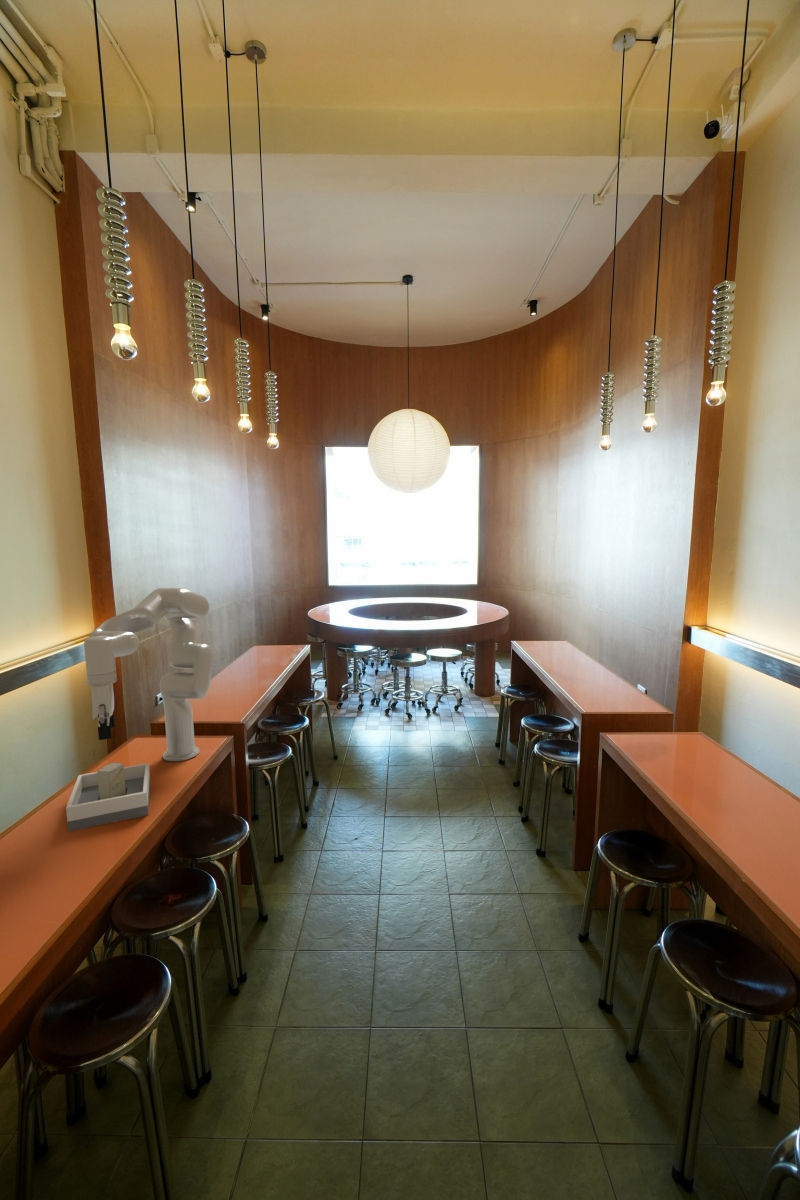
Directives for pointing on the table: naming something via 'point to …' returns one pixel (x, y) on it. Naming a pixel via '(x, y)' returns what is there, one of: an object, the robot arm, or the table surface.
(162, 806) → the table surface
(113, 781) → the skincare box
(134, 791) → the bore box
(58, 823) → the table surface
